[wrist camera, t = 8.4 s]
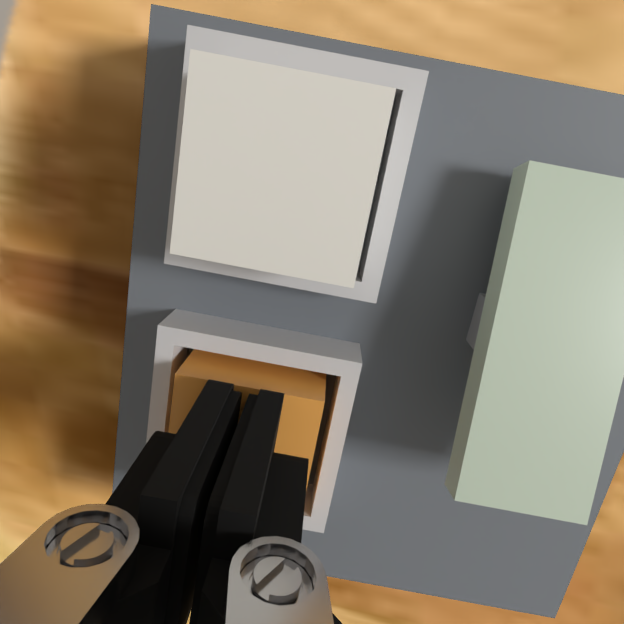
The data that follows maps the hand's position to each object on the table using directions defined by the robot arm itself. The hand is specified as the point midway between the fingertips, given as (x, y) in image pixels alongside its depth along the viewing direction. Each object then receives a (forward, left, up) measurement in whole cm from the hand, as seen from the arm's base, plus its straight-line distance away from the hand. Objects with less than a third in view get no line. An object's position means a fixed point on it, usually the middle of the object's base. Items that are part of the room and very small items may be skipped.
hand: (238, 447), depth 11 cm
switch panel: (+3, 0, -5) cm, 6 cm away
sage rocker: (+7, -1, -1) cm, 7 cm away
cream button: (+3, +5, -1) cm, 6 cm away
